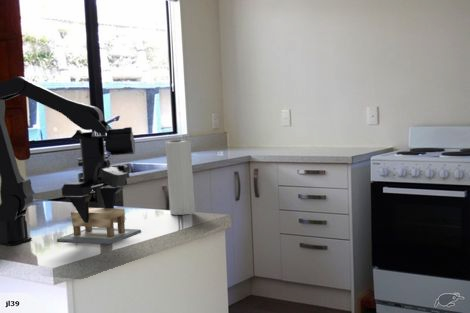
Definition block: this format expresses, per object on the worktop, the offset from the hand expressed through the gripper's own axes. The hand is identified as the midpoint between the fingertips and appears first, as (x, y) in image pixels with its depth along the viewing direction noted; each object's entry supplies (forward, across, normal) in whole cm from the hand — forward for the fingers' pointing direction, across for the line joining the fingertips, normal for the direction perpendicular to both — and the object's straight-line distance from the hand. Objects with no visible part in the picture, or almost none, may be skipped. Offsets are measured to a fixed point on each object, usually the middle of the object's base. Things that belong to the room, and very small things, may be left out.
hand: (98, 218), depth 147 cm
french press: (+5, +32, +27) cm, 42 cm away
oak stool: (+4, 0, 0) cm, 4 cm away
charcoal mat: (+4, 0, 0) cm, 5 cm away
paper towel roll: (+5, +30, -6) cm, 31 cm away
